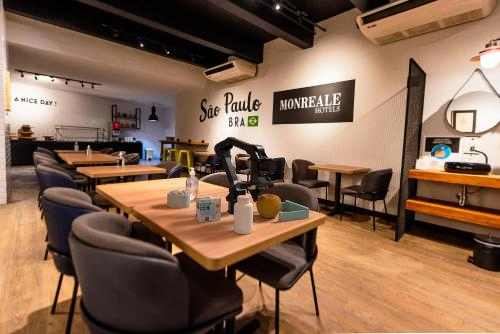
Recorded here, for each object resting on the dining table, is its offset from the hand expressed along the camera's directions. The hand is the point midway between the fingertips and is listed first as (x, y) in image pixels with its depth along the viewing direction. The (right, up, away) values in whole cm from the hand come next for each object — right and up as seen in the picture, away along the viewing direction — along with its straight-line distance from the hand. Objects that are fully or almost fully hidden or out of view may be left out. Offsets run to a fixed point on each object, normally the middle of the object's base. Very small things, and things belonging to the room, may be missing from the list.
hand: (254, 202), depth 129 cm
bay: (+15, -8, +9) cm, 19 cm away
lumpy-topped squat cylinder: (-42, -5, +19) cm, 47 cm away
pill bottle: (-5, -10, -19) cm, 22 cm away
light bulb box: (-22, -8, -4) cm, 24 cm away
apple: (+7, -8, +5) cm, 12 cm away
